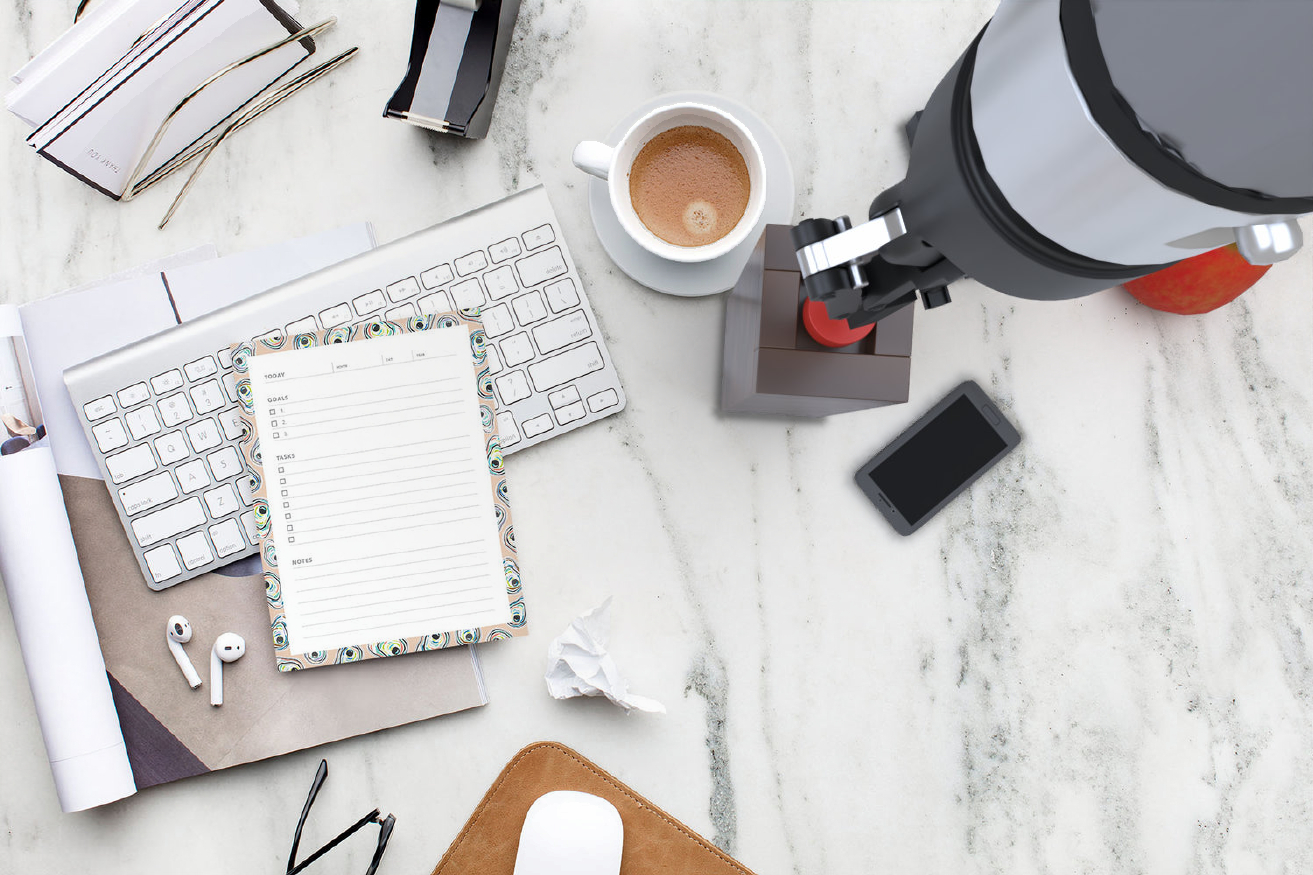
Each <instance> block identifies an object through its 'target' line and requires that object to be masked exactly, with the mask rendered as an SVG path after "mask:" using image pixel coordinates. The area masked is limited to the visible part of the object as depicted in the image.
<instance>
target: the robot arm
mask: <svg viewBox="0 0 1313 875" xmlns="http://www.w3.org/2000/svg"><path fill="white" fill-rule="evenodd" d="M1311 215H1313V0H1001V1H1000V2H999V4H998V6H997V7H996V10H995V12H994V14H992V16H991V17H990V18H989V20H988V21H986V23H985V24H984V25H983V26H982V27H981V29H980V30H979V32H978V33H977V34H976V35H975V36H974V38H973V39H972V41H971V42H970V43H969V45H968V46H967V47H966V48H965V49H964V51H963V52H962V53H961V55H960V56H959V57H958V58H957V60H956V61H955V62H954V63H953V65H952V66H951V67H950V68H949V70H948V71H947V72H946V74H945V75H944V76H943V77H942V79H941V80H940V81H939V83H938V84H937V85H936V87H935V88H934V90H933V92H932V93H931V95H930V97H929V98H928V100H927V102H926V104H925V106H924V111H923V113H922V115H921V118H920V121H919V124H918V127H917V130H916V134H915V138H914V142H913V146H912V147H911V150H910V156H909V160H908V165H907V170H906V173H905V177H904V178H903V179H902V180H900V181H899V182H897V183H895V184H894V185H892V186H890V187H889V188H887V189H885V190H884V191H882V192H881V193H879V194H878V195H877V196H876V197H875V198H874V199H873V201H872V202H871V204H870V205H869V209H868V215H867V216H868V221H866V222H864V223H862V224H860V225H856V226H855V227H853V224H852V221H851V218H850V216H849V215H845V214H844V215H840V216H838V217H836V218H834V219H830V218H826V217H818V218H813V217H810V218H809V217H808V218H806V219H803V220H800V221H799V222H798V224H796V225H794V226H795V227H793V228H792V229H790V231H789V232H790V235H791V239H792V242H793V245H794V249H795V252H796V255H797V259H798V262H799V266H800V269H801V272H802V276H803V279H804V282H805V286H806V289H807V293H808V296H809V299H810V301H822V302H824V303H825V307H826V310H827V313H828V317H829V320H832V319H835V320H843V319H846V318H847V322H848V325H849V329H850V330H852V329H855V328H859V327H862V326H866V325H869V324H873V323H876V322H878V321H880V320H882V319H883V318H885V317H887V316H889V315H891V314H892V313H894V312H896V311H898V310H900V309H901V308H903V307H905V306H907V305H909V304H910V303H912V302H914V301H917V300H919V299H918V295H917V292H916V291H919V295H920V298H921V301H922V304H923V309H924V311H928V310H932V309H936V308H939V307H942V306H946V305H948V304H950V303H952V297H951V294H950V291H949V288H948V286H950V285H951V284H953V283H955V282H957V281H958V280H961V279H964V280H970V279H972V280H973V281H976V282H978V283H979V284H981V285H983V286H985V287H987V288H989V289H991V290H993V291H996V292H997V293H998V292H999V293H1001V294H1004V295H1007V296H1010V297H1014V298H1018V299H1023V300H1030V301H1040V302H1057V301H1058V302H1059V301H1069V300H1073V299H1079V298H1083V297H1088V296H1090V295H1094V294H1098V293H1100V292H1103V291H1105V290H1109V289H1111V288H1114V287H1117V286H1120V285H1122V284H1123V283H1126V282H1129V281H1131V280H1134V279H1137V278H1140V277H1143V276H1146V275H1149V274H1151V273H1154V272H1157V271H1160V270H1163V269H1165V268H1168V267H1171V266H1173V265H1175V264H1177V263H1179V262H1181V261H1183V260H1185V259H1187V258H1189V257H1193V256H1196V255H1199V254H1202V253H1205V252H1208V251H1211V250H1214V249H1216V248H1219V247H1222V246H1225V245H1228V244H1231V243H1233V242H1236V243H1237V247H1238V251H1239V253H1240V254H1241V255H1242V256H1243V257H1244V258H1245V259H1246V260H1247V261H1248V263H1250V264H1251V265H1264V266H1266V265H1270V264H1273V265H1274V264H1277V263H1280V262H1284V261H1287V260H1289V259H1291V258H1292V257H1293V256H1295V255H1296V254H1297V253H1298V252H1300V250H1301V249H1302V248H1303V247H1304V234H1303V231H1302V228H1301V226H1300V224H1299V222H1298V220H1297V219H1302V218H1304V217H1308V216H1311ZM914 303H915V302H914Z"/></svg>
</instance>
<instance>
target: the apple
mask: <svg viewBox="0 0 1313 875" xmlns="http://www.w3.org/2000/svg"><path fill="white" fill-rule="evenodd" d="M1273 265H1274V263H1273V264H1270V265H1266V266H1264V265H1251V264H1250V263H1248V261H1247V260H1246V259H1245V258H1244V257H1243V256H1242V255H1241V254H1240V253H1239V251H1238V247H1237V243H1236V242H1233V243H1231V244H1228V245H1225V246H1222V247H1219V248H1216V249H1214V250H1211V251H1208V252H1205V253H1202V254H1199V255H1196V256H1193V257H1189V258H1187V259H1185V260H1183V261H1181V262H1179V263H1177V264H1175V265H1173V266H1171V267H1168V268H1165V269H1163V270H1160V271H1157V272H1154V273H1151V274H1149V275H1146V276H1143V277H1140V278H1137V279H1134V280H1131V281H1129V282H1126V283H1123V284H1121V285H1122V287H1123V288H1124V289H1125V291H1127V293H1129V294H1130V295H1131V296H1132V297H1133V298H1135V299H1136V300H1137V301H1138V302H1139V303H1141V305H1143V306H1146V307H1148V308H1151V309H1152V310H1153V309H1154V310H1156V311H1159V312H1165V313H1170V314H1174V315H1180V316H1195V315H1205V314H1209V313H1210V312H1213V311H1215V310H1217V309H1220V308H1222V307H1224V306H1226V305H1227V304H1229V303H1232V302H1233V301H1235V299H1237V298H1239V297H1240V296H1241V295H1242V294H1244V293H1245V292H1246V291H1248V290H1249V289H1250V288H1252V287H1254V286H1255V284H1256V283H1257V282H1259V281H1260V280H1261V279H1262V278H1263V277H1264V276H1265V275H1266V274H1267V273H1268V271H1270V269H1271V268H1272V267H1273Z"/></svg>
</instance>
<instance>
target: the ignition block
mask: <svg viewBox="0 0 1313 875" xmlns="http://www.w3.org/2000/svg"><path fill="white" fill-rule="evenodd" d="M795 226H796V225H792V224H778V223H777V224H776V223H766V224H765V227H764V229H763V230H762V232H761V233H760V237H759V238H758V240H757V242H756V244H755V246H754V248H753V250H752V252H751V254H750V256H749V258H748V260H747V261H746V264H745V265H744V268H743V269H742V271H741V273H740V275H739V277H738V279H737V281H736V282H735V285H734V287H733V289H732V290H731V292H730V295H729V296H728V298H727V302H726V318H725V332H724V333H725V334H724V335H725V336H724V347H723V348H724V349H723V364H722V367H723V368H722V381H721V396H720V412H728V413H729V412H731V413H745V414H763V415H777V416H778V415H779V416H793V417H794V416H795V417H807V418H824V417H829V416H835V415H836V416H837V415H842V414H848V413H854V412H860V411H866V410H872V409H879V408H885V407H890V406H897V405H902V404H908V403H909V399H910V397H909V395H910V381H911V364H912V351H913V334H914V316H915V301H914V302H912V303H910V304H909V305H907V306H905V307H903V308H901V309H900V310H898V311H896V312H894V313H892V314H891V315H889V316H887V317H885V318H883V319H882V320H880V321H878V322H876V323H875V325H874V327H873V329H872V330H871V331H870V332H869V333H868V334H867V335H866V336H865V337H864V338H862V339H860V340H859V341H857V342H855V343H853V344H851V345H848V346H845V347H839V348H834V347H828V346H825V345H823V344H821V343H819V342H817V341H816V340H815V339H814V338H813V337H812V336H811V335H810V334H809V333H808V331H807V329H806V327H805V324H804V321H803V307H804V303H805V301H806V298H807V297H808V293H807V289H806V286H805V282H804V279H803V276H802V272H801V269H800V266H799V262H798V259H797V255H796V252H795V249H794V245H793V242H792V239H791V235H790V232H789V231H790V229H792V228H793V227H795Z"/></svg>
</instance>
